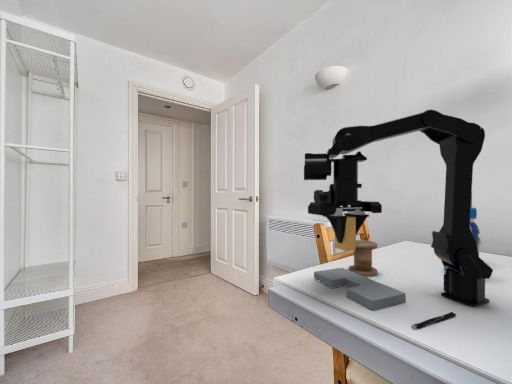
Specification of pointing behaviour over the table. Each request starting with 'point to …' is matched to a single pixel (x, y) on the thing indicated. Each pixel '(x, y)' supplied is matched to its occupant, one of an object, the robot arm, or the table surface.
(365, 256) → the bobbin
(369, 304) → the board
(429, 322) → the black twisted rod
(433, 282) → the table surface
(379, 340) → the table surface
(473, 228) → the beverage bottle
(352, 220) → the tan upright block
